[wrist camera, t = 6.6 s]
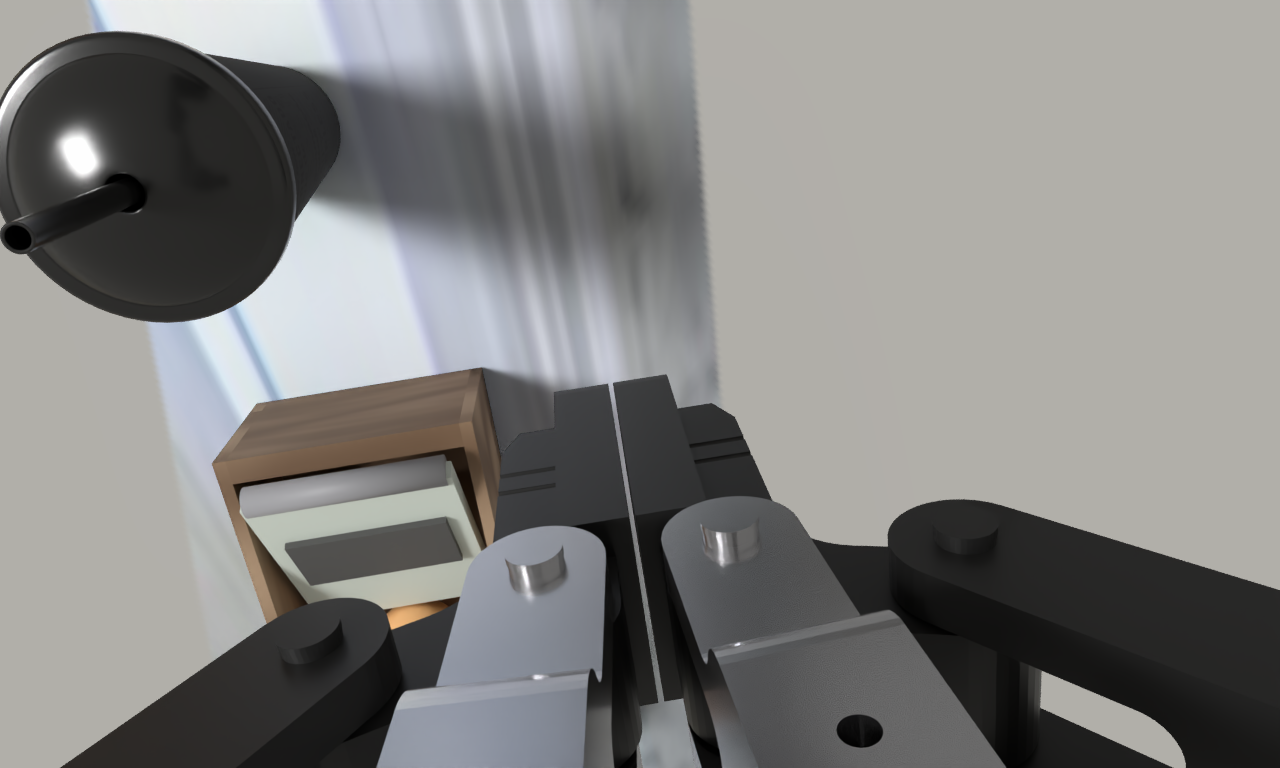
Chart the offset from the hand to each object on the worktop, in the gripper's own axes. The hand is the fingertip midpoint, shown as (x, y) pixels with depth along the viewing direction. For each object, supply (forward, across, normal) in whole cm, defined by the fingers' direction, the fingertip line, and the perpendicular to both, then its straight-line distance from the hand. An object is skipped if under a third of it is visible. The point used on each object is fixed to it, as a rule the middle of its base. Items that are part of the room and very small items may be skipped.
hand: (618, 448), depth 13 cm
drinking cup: (+29, +11, -2) cm, 31 cm away
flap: (+24, +10, +14) cm, 29 cm away
